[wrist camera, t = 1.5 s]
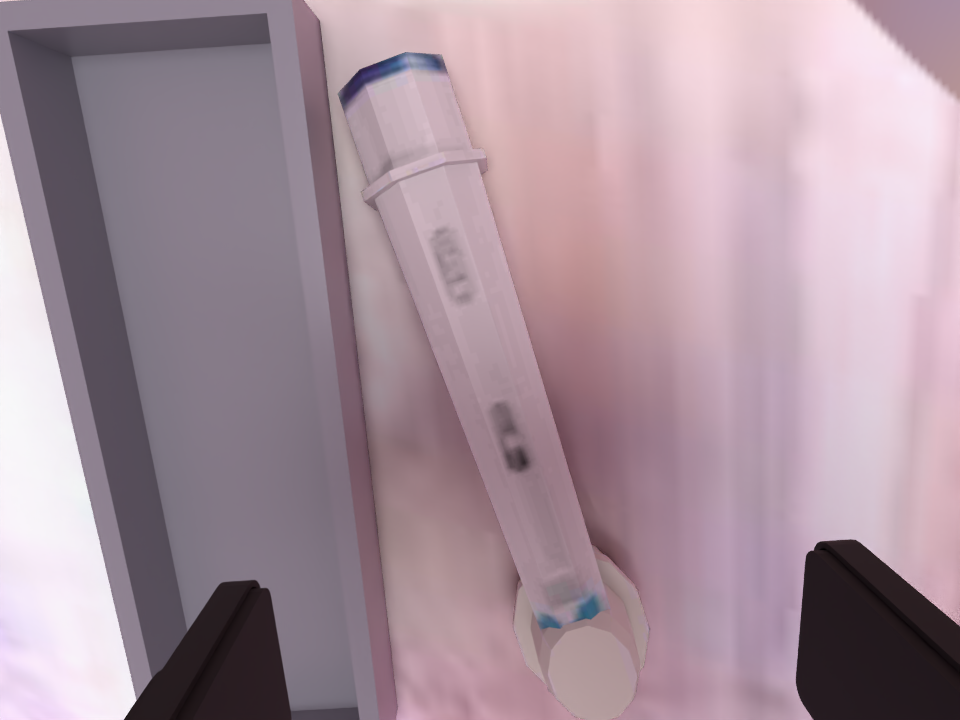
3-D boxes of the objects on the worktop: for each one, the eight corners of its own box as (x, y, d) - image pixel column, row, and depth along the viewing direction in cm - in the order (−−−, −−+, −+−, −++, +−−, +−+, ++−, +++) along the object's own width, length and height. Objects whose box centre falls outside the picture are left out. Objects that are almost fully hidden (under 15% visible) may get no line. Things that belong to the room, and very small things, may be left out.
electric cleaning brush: (460, 26, 18) (698, 756, 20) (472, 100, 25) (650, 642, 27) (301, 86, 18) (551, 797, 20) (355, 143, 25) (539, 675, 27)
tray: (397, 709, 28) (386, 776, 24) (196, 720, 28) (157, 789, 25) (319, 20, 21) (289, -19, 18) (55, 38, 21) (-26, 3, 18)
